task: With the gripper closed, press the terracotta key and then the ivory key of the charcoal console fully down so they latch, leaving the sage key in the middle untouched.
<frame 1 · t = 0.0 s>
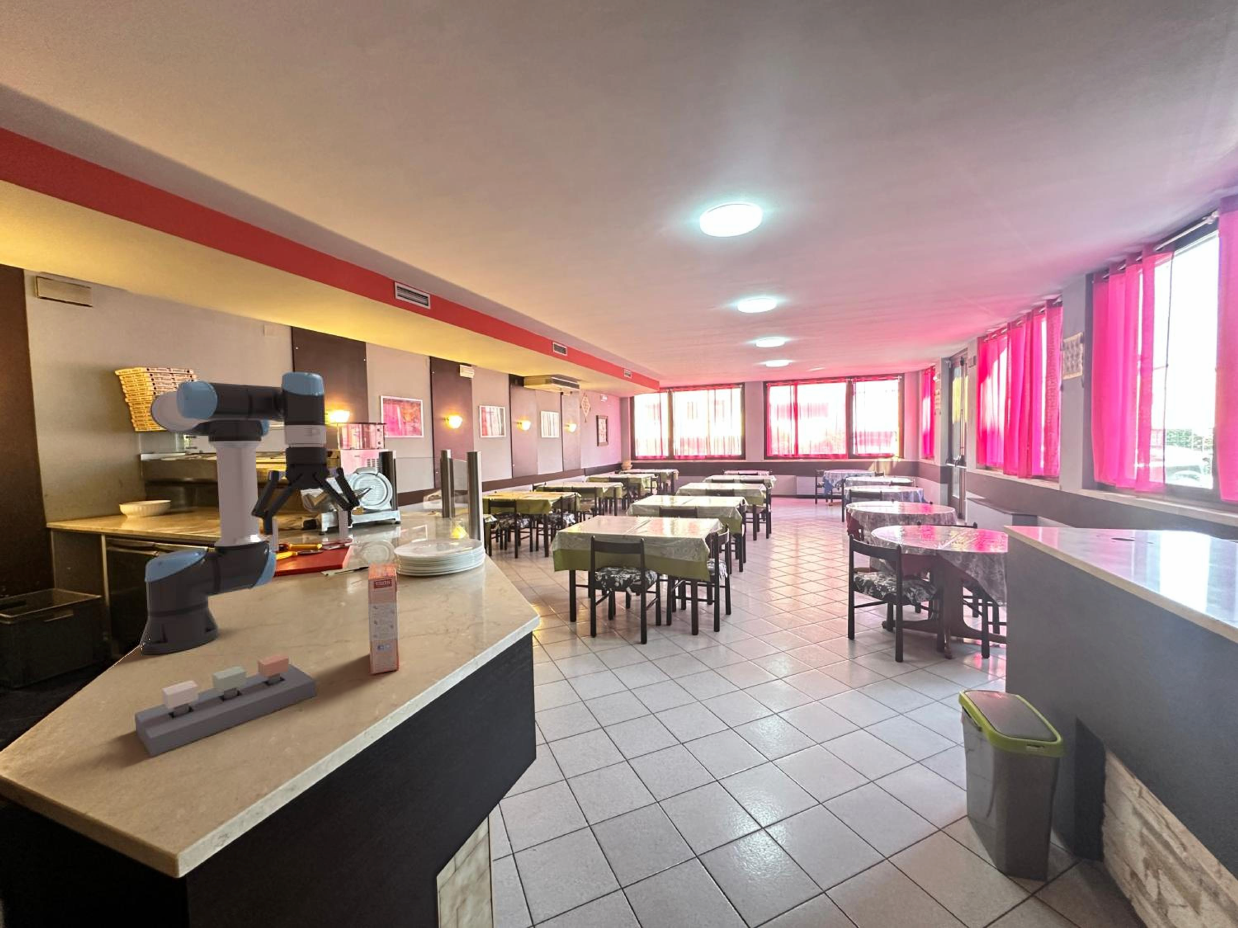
hand: (311, 544, 107), 28 cm above the counter, fingers open, 13 cm apart
cracker box: (385, 661, 113), on the counter
key terracotta: (273, 672, 98), point 5 cm above the counter, slide at 0.0 cm
console: (231, 711, 93), on the counter
key ivory: (180, 702, 87), point 5 cm above the counter, slide at 0.0 cm
key sage: (230, 686, 92), point 5 cm above the counter, slide at 0.0 cm
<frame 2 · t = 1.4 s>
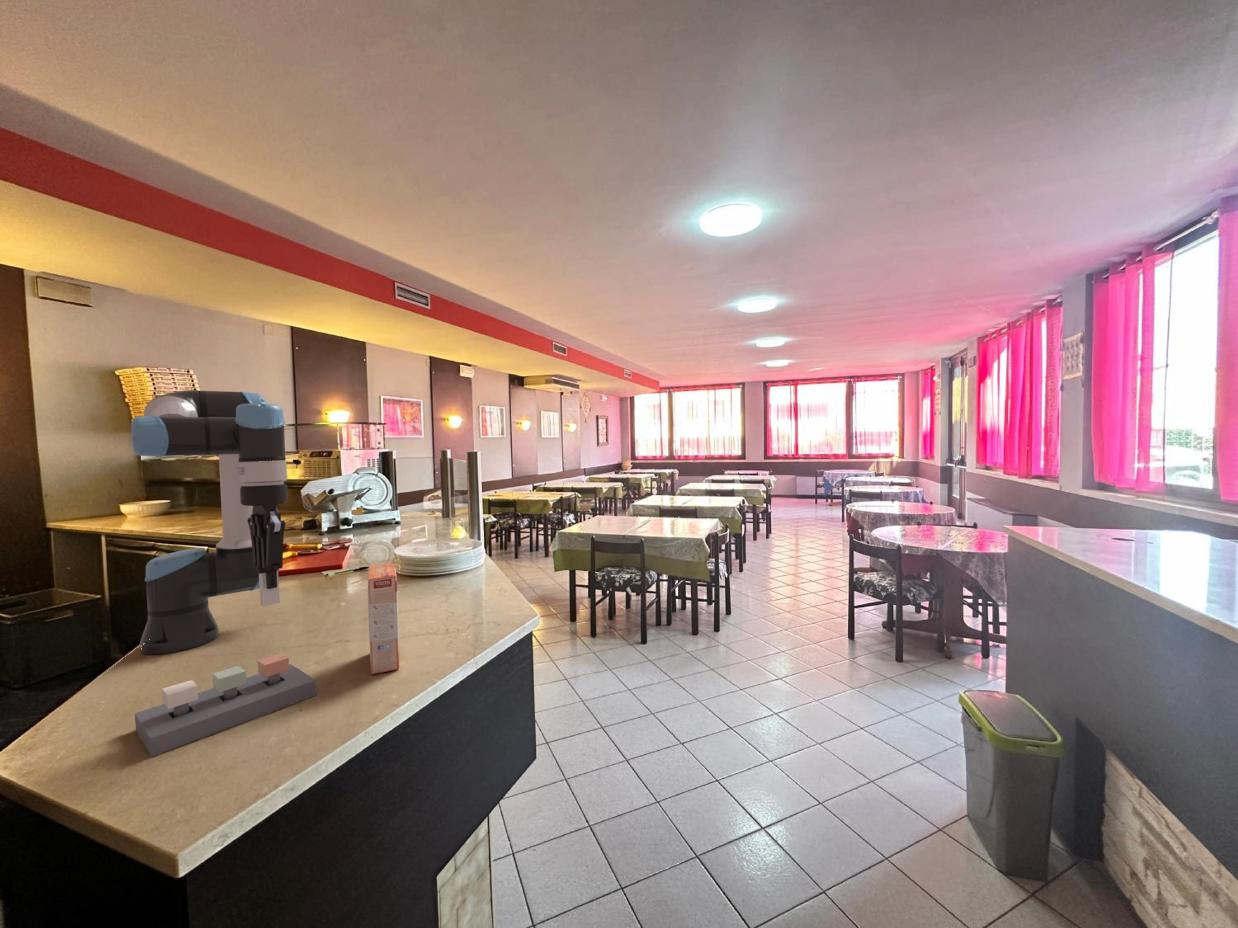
hand: (270, 603, 98), 18 cm above the counter, fingers closed
nothing on the counter moved.
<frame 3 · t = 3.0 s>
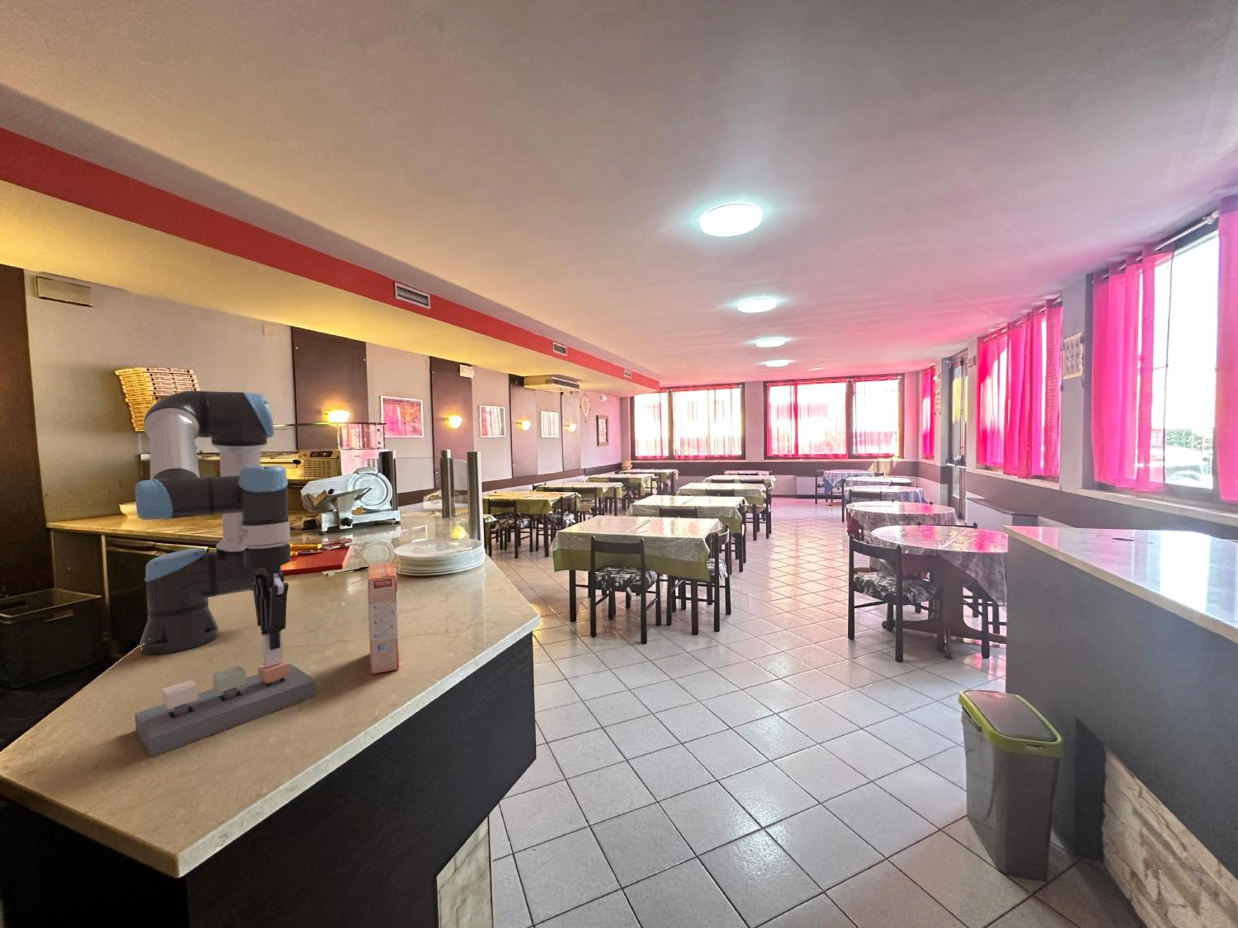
hand: (273, 663, 98), 6 cm above the counter, fingers closed
key terracotta: (274, 678, 98), point 4 cm above the counter, slide at 1.2 cm, touching gripper
everything else where it was.
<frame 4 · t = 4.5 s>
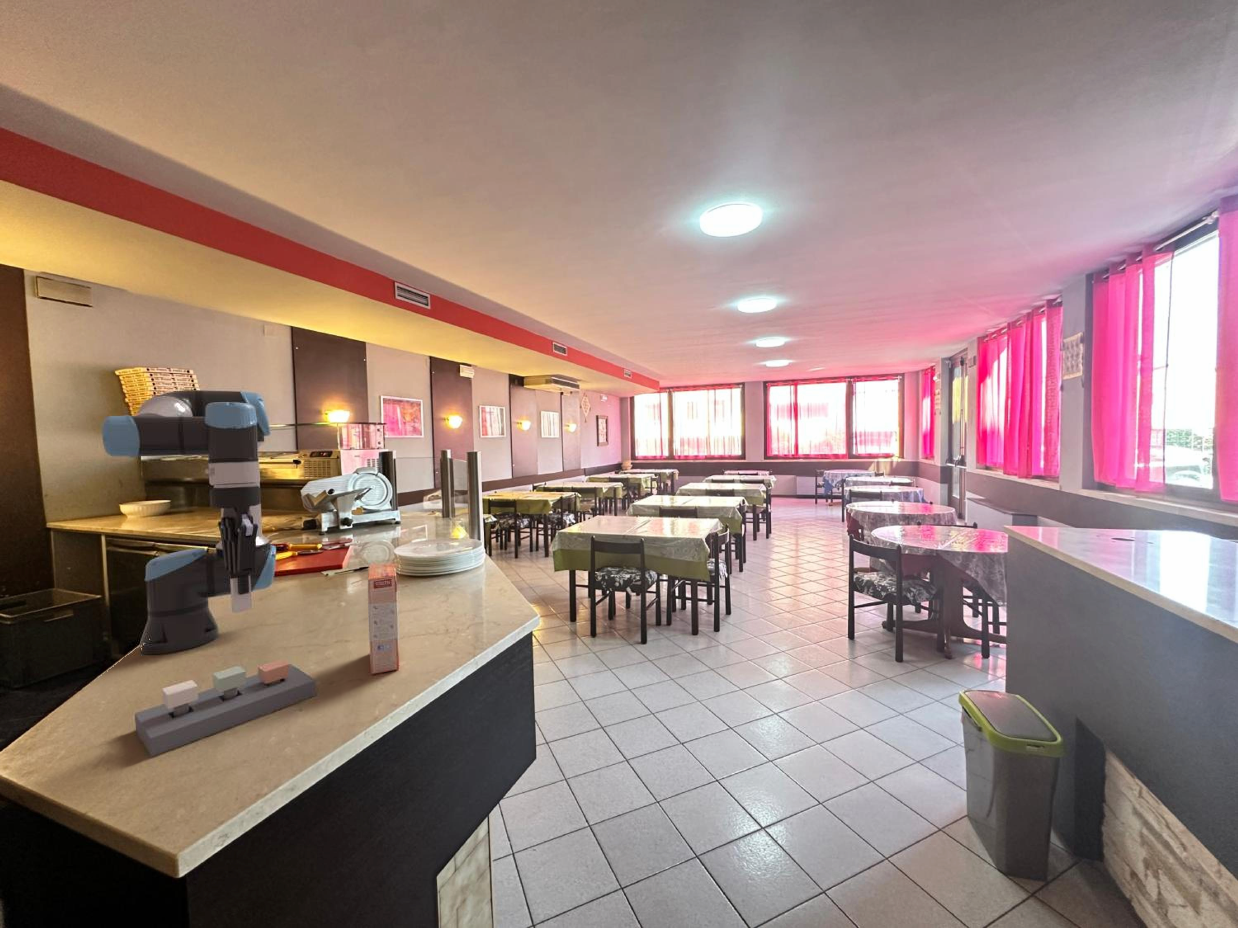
hand: (242, 610, 94), 18 cm above the counter, fingers closed
key terracotta: (274, 678, 98), point 3 cm above the counter, slide at 1.3 cm
everything else where it was.
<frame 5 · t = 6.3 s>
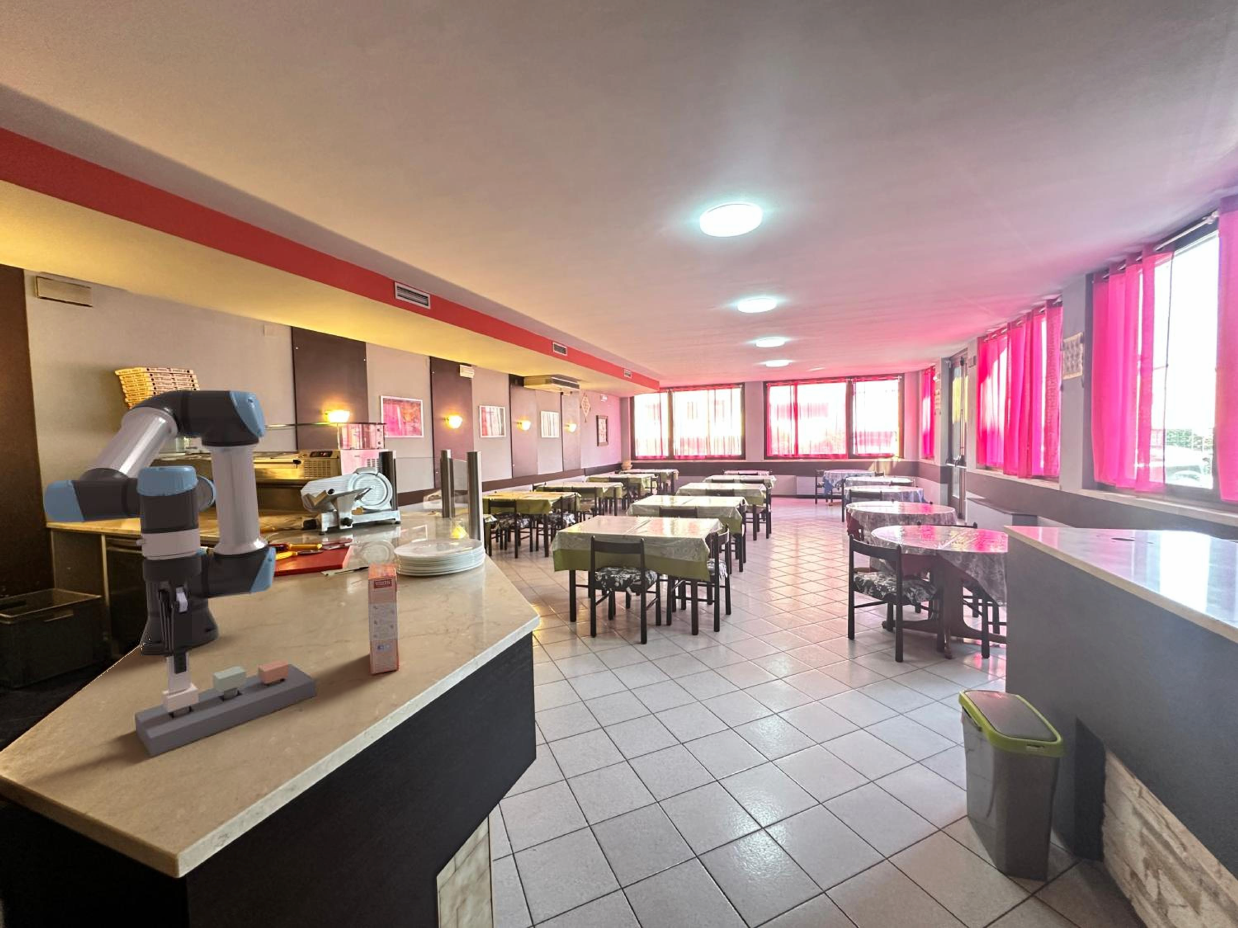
hand: (179, 689, 87), 7 cm above the counter, fingers closed
key ivory: (180, 705, 87), point 4 cm above the counter, slide at 0.5 cm, touching gripper
everything else where it was.
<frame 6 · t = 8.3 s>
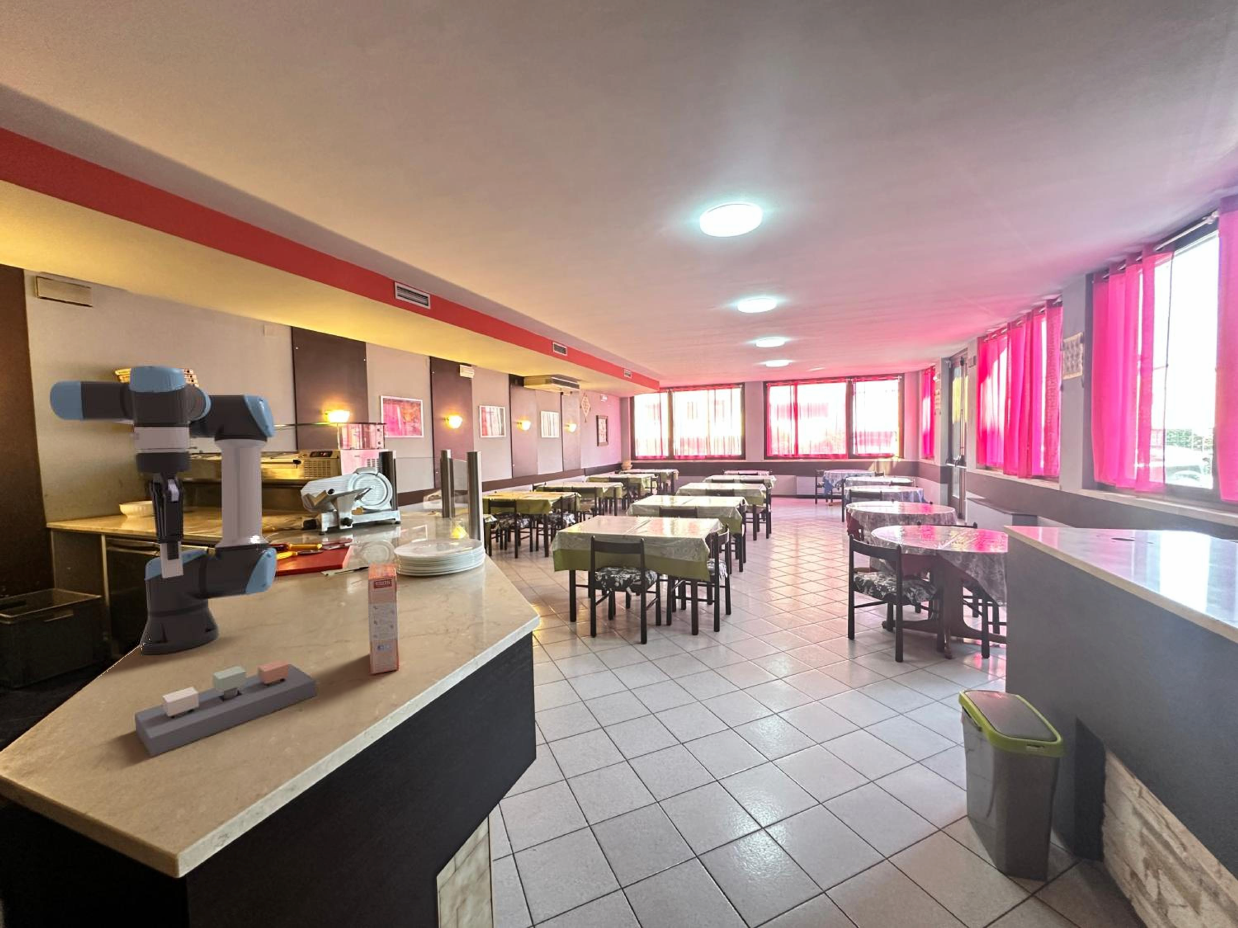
hand: (172, 575, 94), 25 cm above the counter, fingers closed
key ivory: (181, 709, 87), point 3 cm above the counter, slide at 1.3 cm
everything else where it was.
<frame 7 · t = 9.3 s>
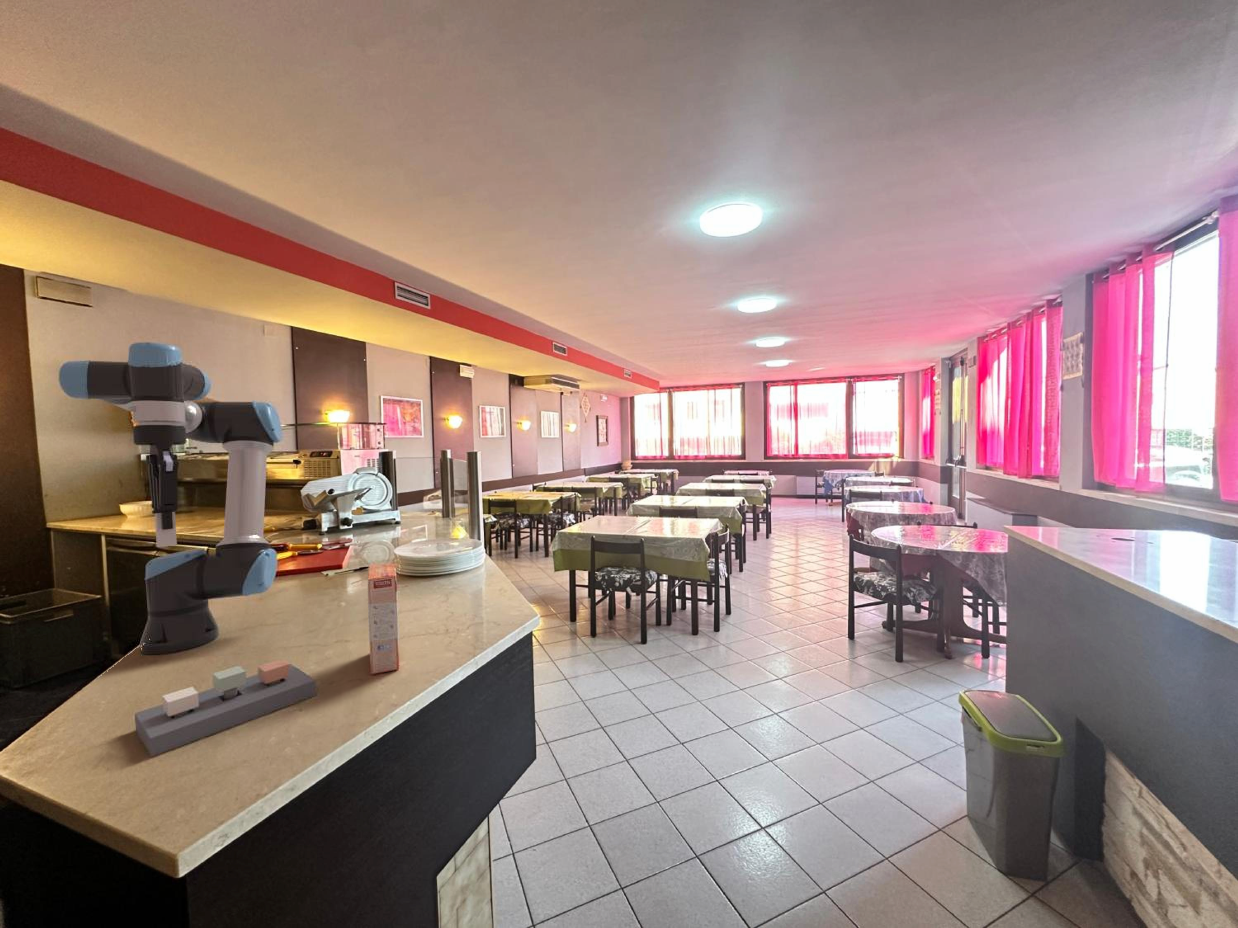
hand: (166, 545, 97), 30 cm above the counter, fingers closed
nothing on the counter moved.
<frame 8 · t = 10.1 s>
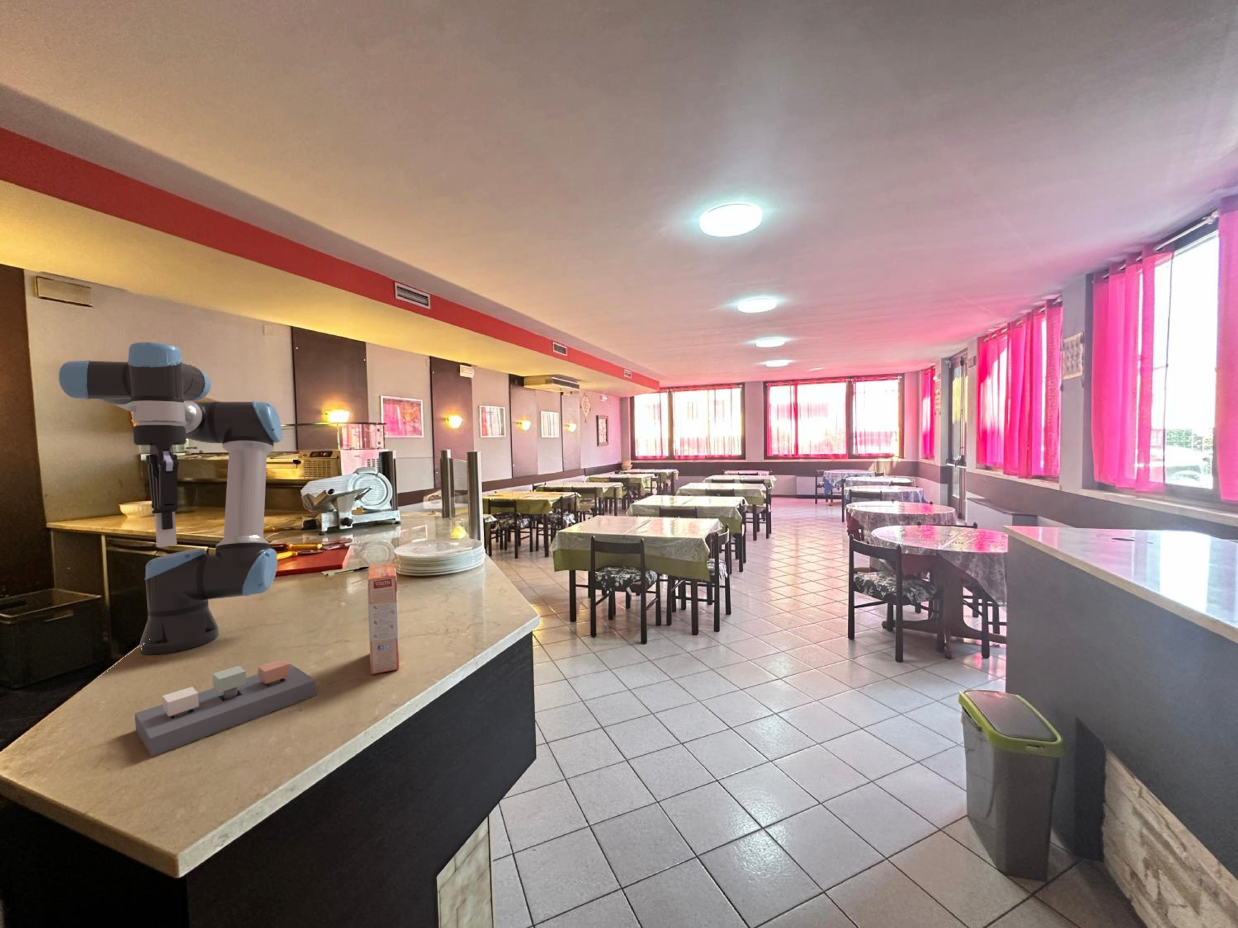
hand: (166, 545, 97), 30 cm above the counter, fingers closed
nothing on the counter moved.
at the end: key terracotta slide at 1.3 cm; key ivory slide at 1.3 cm; key sage slide at 0.0 cm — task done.
